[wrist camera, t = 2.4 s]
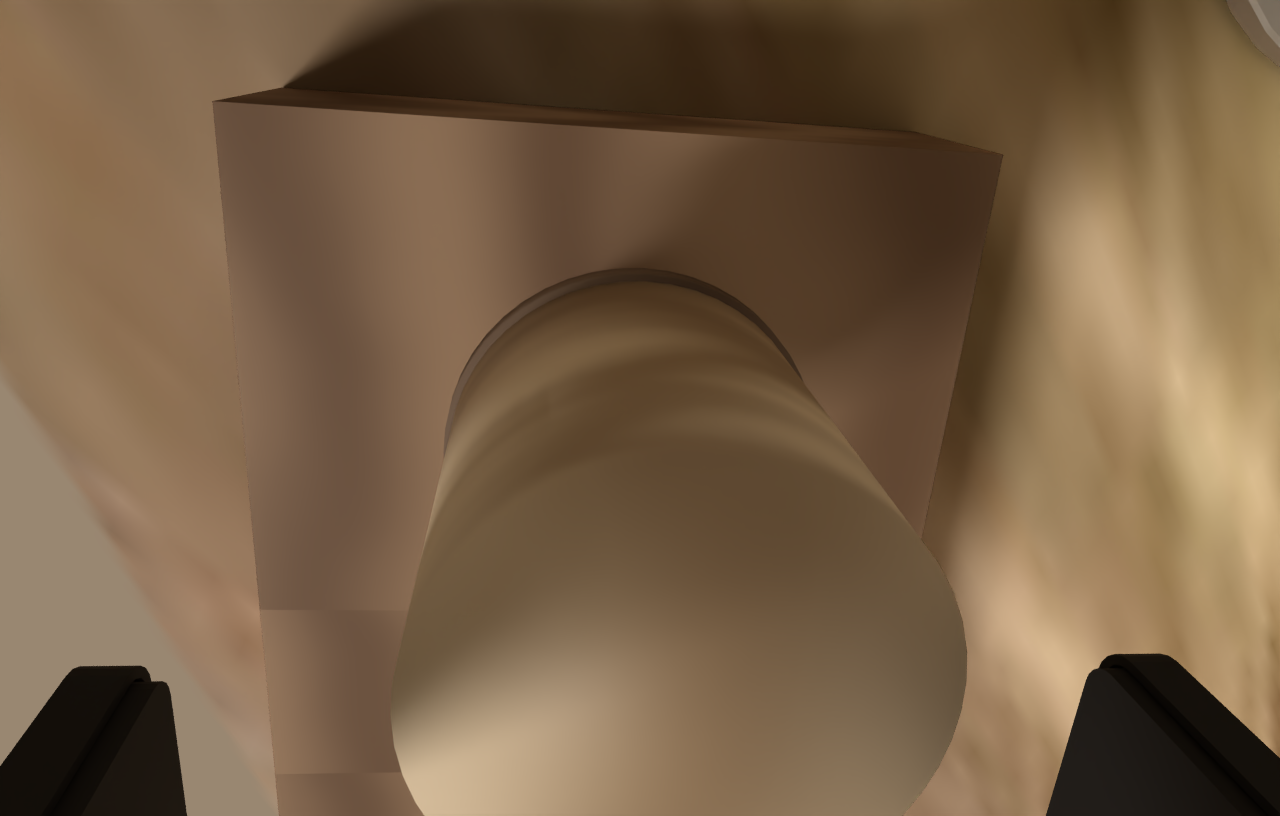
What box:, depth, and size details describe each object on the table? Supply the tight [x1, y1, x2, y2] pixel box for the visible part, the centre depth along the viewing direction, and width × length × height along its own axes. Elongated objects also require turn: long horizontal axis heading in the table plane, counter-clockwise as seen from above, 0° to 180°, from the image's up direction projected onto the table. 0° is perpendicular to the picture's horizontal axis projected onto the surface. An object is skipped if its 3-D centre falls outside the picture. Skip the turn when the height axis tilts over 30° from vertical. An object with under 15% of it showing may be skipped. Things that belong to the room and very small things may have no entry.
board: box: [213, 88, 1003, 816], centre depth 25 cm, size 16×20×5 cm
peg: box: [390, 268, 967, 816], centre depth 15 cm, size 6×6×11 cm
